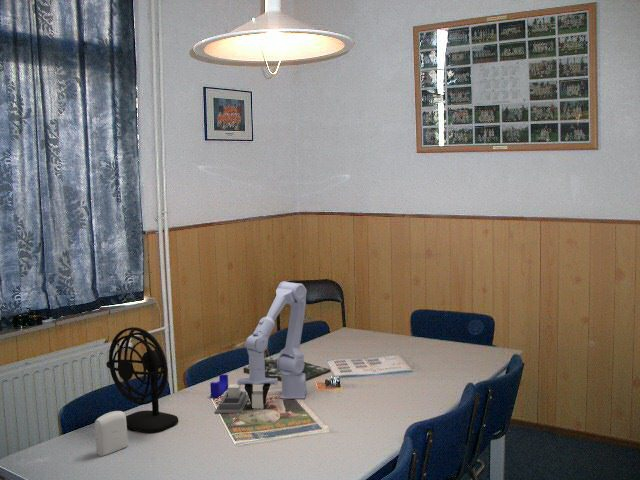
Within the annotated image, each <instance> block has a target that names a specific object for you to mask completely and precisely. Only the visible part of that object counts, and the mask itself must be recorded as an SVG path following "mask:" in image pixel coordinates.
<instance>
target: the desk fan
mask: <svg viewBox="0 0 640 480" xmlns="http://www.w3.org/2000/svg"><path fill="white" fill-rule="evenodd" d="M128 331H129V332H128ZM126 332H128V334H126V335H124V336H123V334H124V333H126ZM140 336H141V337H142V338H141V337H140ZM131 338H132V339H135V340H137V341H138V342H136V343H135V344H134V345H133V347H131V346H129V343H130V340H131ZM147 339H148V340H149V341H148V340H147ZM119 343H120V345H119V348H118V349H117V350H116V351H115V349H116V347H117V345H118V344H119ZM140 344H141V345H143V346H145V350H146V352H144V353H143V354H142V355H141V354H140V352H139V351H138V350H137V349H136V347H137V346H138V345H140ZM152 348H153V349H152ZM123 349H124V356H123V359H122V351H123ZM128 349H129V350H130V354H129V359H128ZM114 352H115V353H114ZM133 353H135V354H136V355H137V356H138V358H139V359H140V360H139V359H133ZM116 357H117V359H116ZM134 363H135V364H141V365H142V368H143V371H139V370H138V371H136V370H135V367H134V365H133V364H134ZM105 364H106V367H107V368H108V369H109V373H110V375H111V378H112V381H113V384H114V385H115V386H116V388H117V390H118V391H119V392H120V394H121V395H122V396H123V397H125V398H126V399H127V400H128V401H130V402H131V403H134V404H135V405H149V404H151V408H152V409H151V410H139V411H135V412H132V413H130V414H128V415H126V423H127V429H130V430H134V431H138V432H143V433H155V432H160V431H164V430H166V429H168V428H170V427H172V426H174V425H176V424H177V423H179V417H178V416H177V415H175V414H172V413H166V412H163V411H160V410H159V409H160V408H159V407H160V405H159V398H160V397H161V396H162V395H163V393H164V391H165V389H166V386H167V383H168V376H169V375H168V373H169V370H168V369H169V368H168V363H167V360H166V355H165V352H164V350H163V348H162V346H161V345H160V343H159V342H158V340H157V339H156V338H155V337H154V335H153V334H151V333H150V332H148V331H147V330H145V329H143V328H140V327H134V326H133V327H127V328H125V329H122V330H120V331H119V332H118V333H117V334H116V335H115V336H114V338H113V339H112V341H111V344H110V346H109V351H108V361H107V362H106V363H105ZM116 364H117V367H116V366H115V365H116ZM159 370H160V371H159ZM117 373H118V375H117ZM133 375H134V376H135V378H136V379H137V380H138V381H139V382H141V383H140V385H139V386H138V387H137V388H134V387H133V386H132V385H131V384H130V383H129V381H130V380H131V379H132V378H133ZM139 375H141V376H143V378H141V377H139ZM118 376H119V377H120V378H121V379H122V380H123V383H124V384H125V385H124V384H123V383H122V382H121V381H120V379H119V377H118ZM146 377H147V379H146ZM161 377H162V379H161ZM160 379H161V382H160V384H159V385H158V382H159V381H160ZM144 384H145V385H146V386H145V390H144V392H141V391H139V390H140V389H141V388H142V387H143V386H144ZM149 388H150V391H149ZM132 392H133V393H134V394H136V395H138V396H135V395H133V394H132ZM150 396H151V399H150V400H146V398H148V397H150ZM145 400H146V401H145Z"/></svg>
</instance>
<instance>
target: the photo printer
mask: <svg viewBox="0 0 640 480" xmlns="http://www.w3.org/2000/svg"><path fill="white" fill-rule="evenodd" d="M126 416H127V415H126V414H125V411H122V410H114V411H109V412H107V413H104V414H103V415H101V416H99V417H98V418H97V419H96V420H94V432H95V443H96V444H95V446H96V447H95V448H96V453H97V455H98V457H103V456H107V455H109V454H112V453H114V452H118V451H120V450H123V449H125V448H127V447H128V446H129V442H128V428H127V423H126Z"/></svg>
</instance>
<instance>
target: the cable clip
mask: <svg viewBox="0 0 640 480" xmlns="http://www.w3.org/2000/svg"><path fill="white" fill-rule="evenodd" d="M218 377H219V379H218V381H216V382H215V381H213V382H210V399H219V398H220V397H221V396H222V395H224V392H225V391H226V392H228V387H229V375H228V374H222V373H221V374H219V376H218ZM226 392H225V393H226ZM219 396H220V397H219ZM218 397H219V398H218Z"/></svg>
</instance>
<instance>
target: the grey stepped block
mask: <svg viewBox="0 0 640 480" xmlns="http://www.w3.org/2000/svg"><path fill="white" fill-rule="evenodd" d="M248 399H249V396H248V394H247V392H246V391H243V390H241V385H238V383H235V384H233V383H231V384H228V390H227V391H226V392H225V394H223V397H222V399H221V400H220V402H219V404H218V406H217V407H216V409H215V411H214V415H216V414H217V415H221V414H220V413H242V412H244V411H243V409H244V407H245V408H246V406H247V404H248V402H249V400H250V399H249V400H248ZM247 401H248V402H247ZM246 403H247V404H246ZM245 405H246V406H245ZM244 410H245V409H244ZM242 414H243V413H242Z"/></svg>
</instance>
